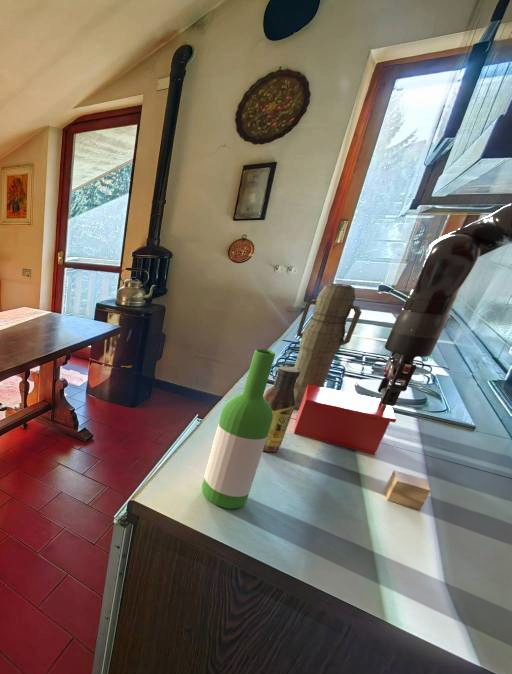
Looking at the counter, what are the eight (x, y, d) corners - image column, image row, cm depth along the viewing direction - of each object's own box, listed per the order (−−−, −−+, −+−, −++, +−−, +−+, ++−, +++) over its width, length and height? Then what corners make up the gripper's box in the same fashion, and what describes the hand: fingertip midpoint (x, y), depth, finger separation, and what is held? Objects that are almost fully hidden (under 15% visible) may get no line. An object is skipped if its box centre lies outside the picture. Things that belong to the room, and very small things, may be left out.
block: (415, 497, 77) (426, 478, 75) (419, 510, 73) (430, 490, 71) (384, 488, 79) (393, 469, 77) (387, 500, 76) (396, 480, 74)
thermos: (321, 416, 108) (369, 289, 95) (272, 403, 116) (310, 283, 102) (326, 407, 114) (372, 285, 101) (279, 394, 122) (316, 280, 108)
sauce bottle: (272, 456, 89) (299, 376, 82) (243, 444, 94) (267, 368, 86) (283, 447, 93) (311, 370, 85) (255, 436, 98) (279, 362, 90)
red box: (370, 433, 100) (383, 403, 96) (374, 455, 91) (390, 421, 87) (296, 415, 109) (306, 387, 105) (293, 433, 99) (304, 402, 96)
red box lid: (388, 403, 96) (396, 385, 94) (394, 422, 87) (404, 402, 85) (306, 386, 105) (312, 369, 103) (304, 402, 96) (311, 383, 94)
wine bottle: (231, 485, 79) (273, 344, 68) (254, 511, 72) (305, 359, 61) (193, 484, 79) (229, 344, 68) (212, 511, 72) (256, 359, 60)
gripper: (447, 342, 78) (411, 414, 84) (433, 328, 88) (402, 393, 94) (396, 335, 82) (366, 404, 88) (388, 322, 92) (362, 385, 99)
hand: (385, 398), depth 91 cm, fingers open, 8 cm apart
